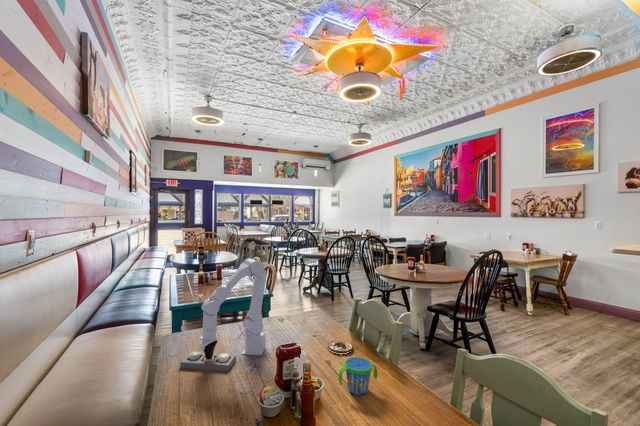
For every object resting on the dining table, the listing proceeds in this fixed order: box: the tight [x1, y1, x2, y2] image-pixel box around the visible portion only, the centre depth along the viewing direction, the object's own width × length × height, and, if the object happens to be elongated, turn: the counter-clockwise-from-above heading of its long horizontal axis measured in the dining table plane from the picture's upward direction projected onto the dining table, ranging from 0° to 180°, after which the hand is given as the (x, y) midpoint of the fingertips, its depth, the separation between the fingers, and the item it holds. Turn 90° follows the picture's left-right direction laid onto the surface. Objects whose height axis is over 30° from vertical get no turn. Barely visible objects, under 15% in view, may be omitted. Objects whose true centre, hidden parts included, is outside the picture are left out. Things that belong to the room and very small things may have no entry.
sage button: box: [188, 351, 201, 361], centre depth 128 cm, size 4×4×2 cm
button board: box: [179, 351, 237, 372], centre depth 127 cm, size 21×9×2 cm, turn 85°
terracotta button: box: [204, 356, 214, 362], centre depth 127 cm, size 4×4×2 cm
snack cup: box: [337, 356, 378, 396], centre depth 111 cm, size 16×10×10 cm
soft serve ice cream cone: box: [293, 343, 308, 377], centre depth 113 cm, size 8×8×16 cm
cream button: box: [218, 353, 229, 363], centre depth 126 cm, size 4×4×2 cm
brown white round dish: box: [327, 340, 354, 353], centre depth 144 cm, size 15×15×4 cm
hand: (208, 358), depth 127 cm, fingers closed, pressing on terracotta button
